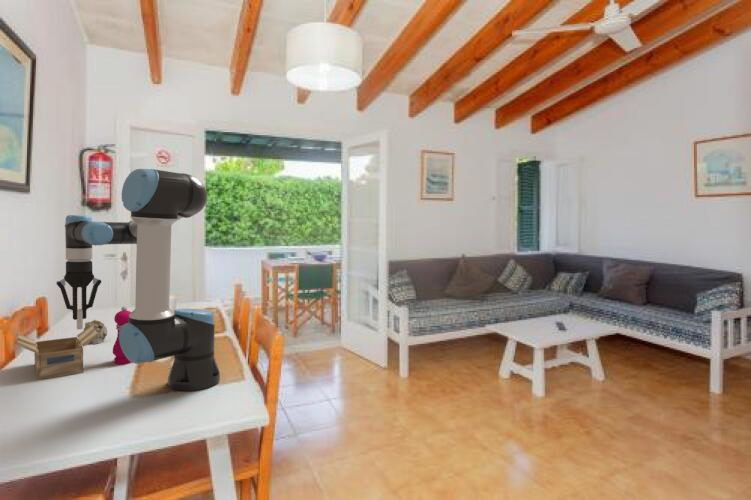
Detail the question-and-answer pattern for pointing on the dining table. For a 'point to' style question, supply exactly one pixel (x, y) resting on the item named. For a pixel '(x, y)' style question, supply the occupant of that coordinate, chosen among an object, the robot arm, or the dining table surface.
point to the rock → (97, 330)
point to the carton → (58, 358)
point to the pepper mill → (120, 319)
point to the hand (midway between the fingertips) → (79, 328)
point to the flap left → (26, 343)
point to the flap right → (87, 335)
